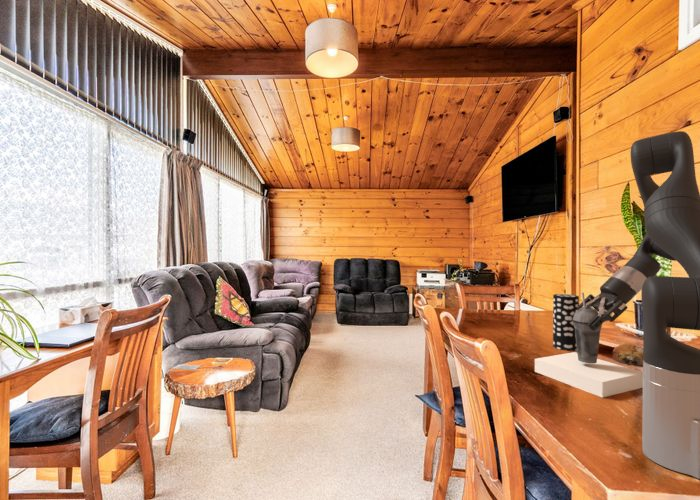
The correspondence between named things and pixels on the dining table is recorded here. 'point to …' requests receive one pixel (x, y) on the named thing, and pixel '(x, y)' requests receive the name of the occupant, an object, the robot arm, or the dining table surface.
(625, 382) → the shelf board
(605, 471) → the dining table surface
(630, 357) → the bread roll
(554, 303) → the spotted tube
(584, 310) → the beverage cup
